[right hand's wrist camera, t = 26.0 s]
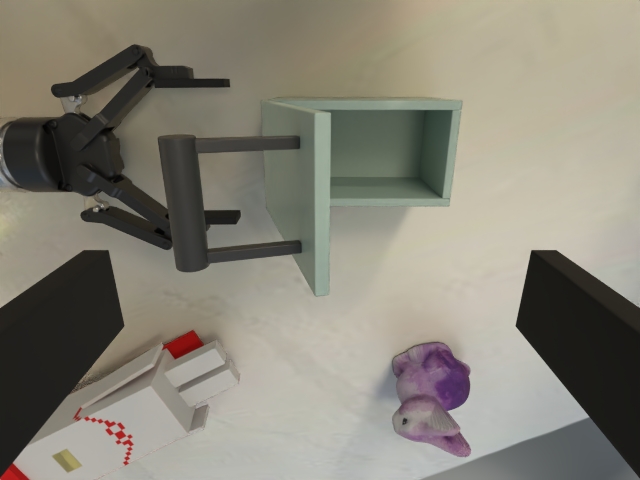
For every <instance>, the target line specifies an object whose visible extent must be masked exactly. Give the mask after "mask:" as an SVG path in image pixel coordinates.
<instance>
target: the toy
mask: <svg viewBox="0 0 640 480" xmlns="http://www.w3.org/2000/svg"><path fill="white" fill-rule="evenodd" d="M226 356H227V354H226V352H225V351H224V349H223V348H222V346H221V345H220V343H219V342H218V340H217V339H216V340H214V341H212V342H210V343H208V344H206V345H203V343H202V342H201V340H200V339H199V338H198V336H197V335H196V334H195V332H194V331H193V330H192V331H191V332H189V333H187V334H185V335H183V336H181V337H179V338H177V339H176V340H174V341H172V342H170V343H168V344H166V345H163V344H162V343H160V344H158V345H157V346H155V347H153V348H152V349H150V350H148V351H147V352H145V353H144V354H142V355H140V356H139V357H137V358H135V359H134V360H132V361H131V362H129V363H127V364H126V365H124V366H122V367H121V368H119V369H117V370H116V371H114V372H113V373H111V374H109V375H108V376H106V377H104V378H103V379H101V380H99V381H96V382H94V383H92V384H90V385H88V386H86V387H84V388H82V389H80V390H78V391H76V392H74V393H72V394H70V395H68V396H67V397H66V398H65V399H64V401H63V402H62V403H61V404H60V406H59V407H58V408H57V409H56V410H55V412H54V413H53V414H52V415H51V417H50V418H49V419H48V420H47V422H46V423H45V424H44V425H43V426H42V428H41V429H40V430H39V431H38V433H37V434H36V435H35V436H34V437H33V439H32V440H31V441H30V442H29V444H28V445H27V446H26V447H25V448H24V450H23V451H22V452H21V453H20V455H19V456H18V457H17V458H16V459H15V461H14V462H13V463H12V464H11V466H10V467H9V468H8V469H7V471H6V472H5V473H4V474H3V475H2V477H1V478H0V479H1V480H96V479H98V478H100V477H102V476H104V475H106V474H108V473H110V472H112V471H114V470H117V469H119V468H121V467H123V466H125V465H127V464H129V463H131V462H133V461H135V460H137V459H139V458H141V457H143V456H145V455H147V454H149V453H152V452H154V451H156V450H158V449H160V448H162V447H164V446H166V445H168V444H170V443H172V442H174V441H176V440H178V439H181V438H183V437H186V436H189V435H191V434H194V433H196V432H199V431H202V430H204V428H205V424H206V420H207V416H208V412H209V408H210V407H209V405H208V404H207V405H205V406H202V407H200V408H197V409H195V407H196V404H198V403H200V402H202V401H204V400H206V399H208V398H210V397H212V396H214V395H216V394H218V393H220V392H222V391H225V390H227V389H229V388H231V387H233V386H235V385H237V384H239V377H240V373H239V372H238V370H237V369H236V367H235V366H234V364H233V363H232V361H231V360H228V361H226Z"/></svg>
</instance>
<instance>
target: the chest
mask: <svg viewBox="0 0 640 480" xmlns="http://www.w3.org/2000/svg"><path fill="white" fill-rule="evenodd" d="M270 101H275V102H280V103H285V104H290V105H295V106H300V107H305V108H310V109H315V110H320V111H325V112H329V113H331V158H330V206H449V205H450V197H451V189H452V181H453V172H454V164H455V156H456V148H457V140H458V132H459V124H460V116H461V109H462V100H451V99H441V98H416V97H278V98H274V99H270Z"/></svg>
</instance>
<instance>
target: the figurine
mask: <svg viewBox="0 0 640 480" xmlns="http://www.w3.org/2000/svg"><path fill="white" fill-rule="evenodd" d="M393 368H394V369H393V371H394V373H395V375H396V377H397V378H398V381H397V394H398V397H399V399H400V401H401V404H402V405H401V407H400V408H399V409H398V410H397V411H396V412H395V414H394V415H393V418H392V421H393V426H394V430H395V432H396V433H397V434H399V435H401V436H403V437H405V438H407V439H409V440H412V441H416V442H424V443H429V444H432V445H434V446H437V447H439V448H441V449H443V450H444V451H446V452H449V453H451V454H453V455H456V456H459V457H467V456H469V455H470V453H471V449H470V446H469V444H468V443H467V441H466V440H465V439H464V437H463V436H462V434H461V433H460V427H459V426H458V424H457V423H456V422H455V421H454V419H453V418H452V417H451V416H450V414H449V413H448V412H447V411H449V410H452V409H455V408H457V407H459V406H461V405H462V404H463V403H464V402H465V401H466V400H467V398H468V395H469V391H470V381H469V377H468V376H469V374H470V372H471V370H470V367H469V366H468V365H467V364H465V363H463V362H460V361H458V360H456V359H455V358H454V357H453V354H452V352H451V350H450V349H449V347H448V346H447V345H445V344H442V343H438V342H436V343H429V344H423V345H418V346H414V347H413V348H411V349H409V350H408V351H407V352H405V353H403V354H400V355H398V356H396V357H395V358H394V359H393Z"/></svg>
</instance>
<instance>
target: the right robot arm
mask: <svg viewBox="0 0 640 480" xmlns="http://www.w3.org/2000/svg"><path fill="white" fill-rule="evenodd" d="M123 327H124V322H123V317H122V312H121V308H120V303H119V298H118V293H117V288H116V284H115V279H114V274H113V269H112V264H111V260H110V255H109V250H83V251H82V252H81V253H79V254H78V255H76V256H75V257H73V258H72V259H71V260H69V261H68V262H66V263H65V264H63V265H62V266H60V267H59V268H58V269H56V270H55V271H53V272H52V273H50V274H49V275H47V276H46V277H45V278H43V279H42V280H40V281H39V282H37V283H36V284H34V285H33V286H32V287H30V288H29V289H27V290H26V291H24V292H23V293H21V294H20V295H19V296H17V297H16V298H14V299H13V300H11V301H10V302H8V303H7V304H6V305H4V306H3V307H1V308H0V478H1V477H2V475H3V474H4V473H5V472H6V471H7V469H8V468H9V467H10V466H11V464H12V463H13V462H14V461H15V459H16V458H17V457H18V456H19V455H20V453H21V452H22V451H23V450H24V448H25V447H26V446H27V445H28V444H29V442H30V441H31V440H32V439H33V437H34V436H35V435H36V434H37V433H38V431H39V430H40V429H41V428H42V426H43V425H44V424H45V423H46V422H47V420H48V419H49V418H50V417H51V415H52V414H53V413H54V412H55V410H56V409H57V408H58V407H59V406H60V404H61V403H62V402H63V401H64V399H65V398H66V397H67V396H68V395H69V393H70V392H71V391H72V390H73V388H74V387H75V386H76V385H77V384H78V382H79V381H80V380H81V379H82V377H83V376H84V375H85V374H86V373H87V371H88V370H89V369H90V368H91V366H92V365H93V364H94V363H95V361H96V360H97V359H98V358H99V357H100V355H101V354H102V353H103V352H104V350H105V349H106V348H107V347H108V346H109V344H110V343H111V342H112V341H113V339H114V338H115V337H116V336H117V335H118V333H119V332H120V331H121V330H122V328H123ZM516 327H517V328H518V330H519V331H520V332H521V333H522V335H523V336H524V337H525V338H526V339H527V341H528V342H529V343H530V344H531V346H532V347H533V348H534V349H535V350H536V352H537V353H538V354H539V355H540V357H541V358H542V359H543V360H544V361H545V363H546V364H547V365H548V366H549V368H550V369H551V370H552V371H553V373H554V374H555V375H556V376H557V377H558V379H559V380H560V381H561V382H562V384H563V385H564V386H565V387H566V388H567V390H568V391H569V392H570V393H571V395H572V396H573V397H574V398H575V399H576V401H577V402H578V403H579V404H580V406H581V407H582V408H583V409H584V410H585V412H586V413H587V414H588V415H589V417H590V418H591V419H592V420H593V422H594V423H595V424H596V425H597V426H598V428H599V429H600V430H601V431H602V433H603V434H604V435H605V436H606V437H607V439H608V440H609V441H610V442H611V444H612V445H613V446H614V447H615V448H616V450H617V451H618V452H619V453H620V455H621V456H622V457H623V458H624V459H625V461H626V462H627V463H628V464H629V466H630V467H631V468H632V469H633V471H634V472H635V473H636V474H637V475H638V477H639V478H640V308H639V307H637V306H636V305H634V304H633V303H632V302H630V301H629V300H627V299H626V298H624V297H623V296H621V295H620V294H619V293H617V292H616V291H614V290H613V289H611V288H610V287H608V286H607V285H606V284H604V283H603V282H601V281H600V280H598V279H597V278H595V277H594V276H593V275H591V274H590V273H588V272H587V271H585V270H584V269H582V268H581V267H580V266H578V265H577V264H575V263H574V262H572V261H571V260H569V259H568V258H567V257H565V256H564V255H562V254H561V253H559V252H558V251H557V250H531V255H530V260H529V264H528V269H527V274H526V279H525V284H524V288H523V293H522V298H521V303H520V308H519V312H518V317H517V322H516Z"/></svg>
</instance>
